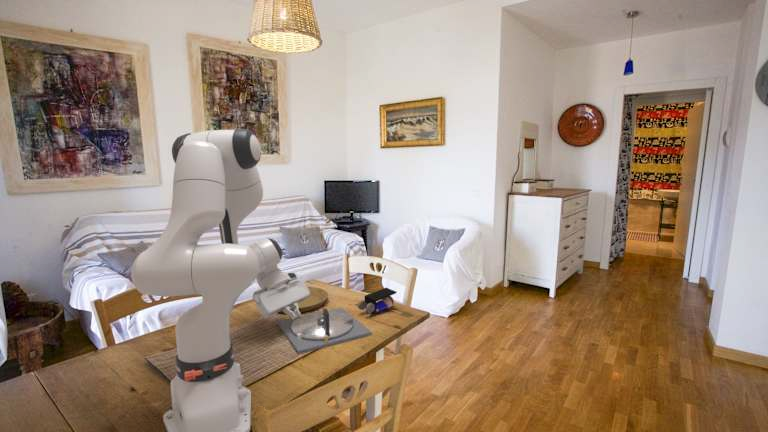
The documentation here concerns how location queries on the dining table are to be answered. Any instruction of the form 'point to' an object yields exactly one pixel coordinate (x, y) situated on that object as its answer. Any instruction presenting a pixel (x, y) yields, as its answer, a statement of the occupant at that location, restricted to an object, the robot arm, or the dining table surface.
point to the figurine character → (375, 296)
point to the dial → (322, 325)
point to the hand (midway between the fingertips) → (296, 317)
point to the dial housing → (310, 345)
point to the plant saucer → (312, 300)
